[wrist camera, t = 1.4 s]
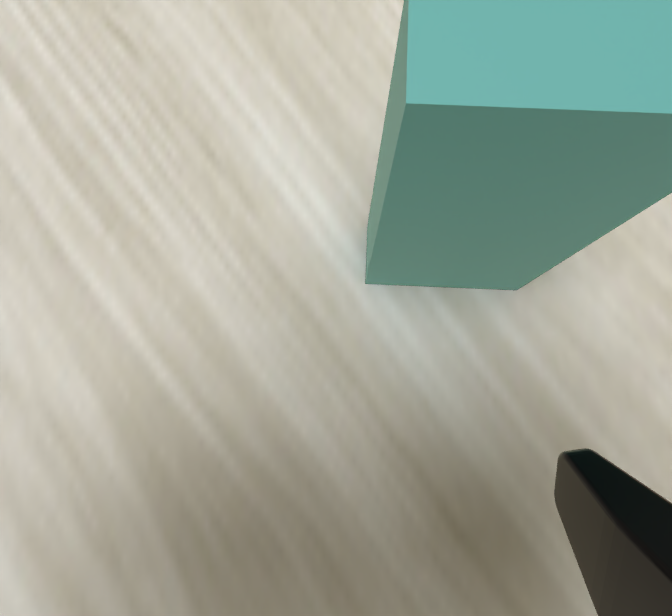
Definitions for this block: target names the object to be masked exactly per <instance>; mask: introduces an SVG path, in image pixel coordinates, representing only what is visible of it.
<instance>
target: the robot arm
mask: <svg viewBox="0 0 672 616" xmlns="http://www.w3.org/2000/svg"><path fill="white" fill-rule="evenodd" d="M554 495H555V502H556V506H557V509H558V512H559V515H560V517H561V520H562V523H563V525H564V528H565V531H566V533H567V536H568V539H569V541H570V544H571V546H572V549H573V552H574V554H575V557H576V560H577V562H578V565H579V568H580V570H581V573H582V575H583V578H584V581H585V583H586V586H587V589H588V591H589V594H590V597H591V599H592V602H593V604H594V607H595V609H596V611H597V614H598V616H672V503H671V502H669V501H668V500H666V499H665V498H663V497H662V496H660V495H659V494H657V493H656V492H654V491H653V490H651V489H650V488H648V487H647V486H645V485H644V484H642V483H641V482H639V481H638V480H636V479H635V478H633V477H632V476H631V475H629V474H628V473H626V472H625V471H623V470H622V469H620V468H619V467H617V466H616V465H614V464H613V463H611V462H610V461H608V460H607V459H605V458H604V457H602V456H601V455H599V454H598V453H596V452H595V451H593V450H590V449H578V450H571V451H565V452H562V453H561V454H560V455H559V458H558V463H557V472H556V481H555V490H554Z"/></svg>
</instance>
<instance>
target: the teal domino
mask: <svg viewBox="0 0 672 616" xmlns="http://www.w3.org/2000/svg"><path fill="white" fill-rule="evenodd" d="M670 193H672V0H404V5H403V11H402V17H401V23H400V29H399V35H398V41H397V48H396V54H395V60H394V66H393V72H392V78H391V84H390V91H389V97H388V103H387V109H386V115H385V121H384V127H383V134H382V140H381V146H380V152H379V158H378V164H377V170H376V176H375V183H374V189H373V195H372V201H371V207H370V213H369V219H368V226H367V252H366V279H365V284H383V285H406V286H430V287H453V288H477V289H500V290H518V289H519V288H521V287H522V286H524V285H526V284H527V283H529V282H530V281H532V280H534V279H535V278H537V277H538V276H540V275H541V274H543V273H545V272H546V271H548V270H549V269H551V268H553V267H554V266H556V265H557V264H559V263H561V262H562V261H564V260H565V259H567V258H569V257H570V256H572V255H573V254H575V253H576V252H578V251H580V250H581V249H583V248H584V247H586V246H588V245H589V244H591V243H592V242H594V241H596V240H597V239H599V238H600V237H602V236H603V235H605V234H607V233H608V232H610V231H611V230H613V229H615V228H616V227H618V226H619V225H621V224H623V223H624V222H626V221H627V220H629V219H631V218H632V217H634V216H635V215H637V214H638V213H640V212H642V211H643V210H645V209H646V208H648V207H650V206H651V205H653V204H654V203H656V202H658V201H659V200H661V199H662V198H664V197H666V196H667V195H669V194H670Z"/></svg>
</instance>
